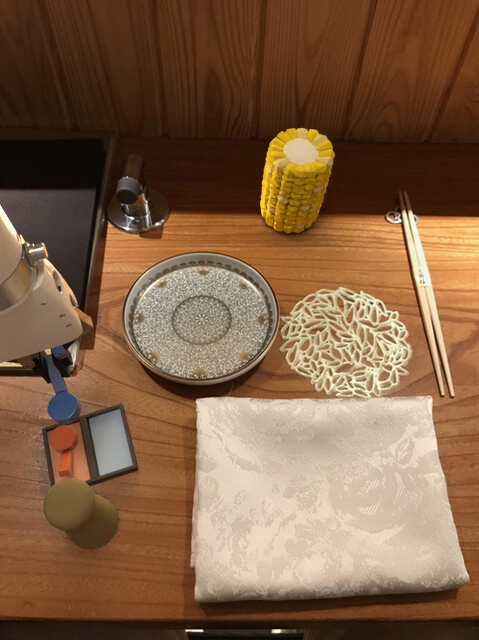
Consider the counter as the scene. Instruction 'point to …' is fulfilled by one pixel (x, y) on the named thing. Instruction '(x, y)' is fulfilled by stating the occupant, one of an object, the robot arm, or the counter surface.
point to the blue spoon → (61, 397)
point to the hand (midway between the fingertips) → (57, 368)
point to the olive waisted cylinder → (81, 513)
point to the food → (295, 179)
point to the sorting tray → (95, 447)
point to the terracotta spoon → (64, 447)
